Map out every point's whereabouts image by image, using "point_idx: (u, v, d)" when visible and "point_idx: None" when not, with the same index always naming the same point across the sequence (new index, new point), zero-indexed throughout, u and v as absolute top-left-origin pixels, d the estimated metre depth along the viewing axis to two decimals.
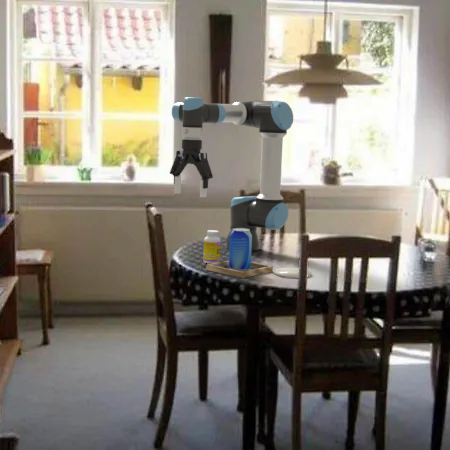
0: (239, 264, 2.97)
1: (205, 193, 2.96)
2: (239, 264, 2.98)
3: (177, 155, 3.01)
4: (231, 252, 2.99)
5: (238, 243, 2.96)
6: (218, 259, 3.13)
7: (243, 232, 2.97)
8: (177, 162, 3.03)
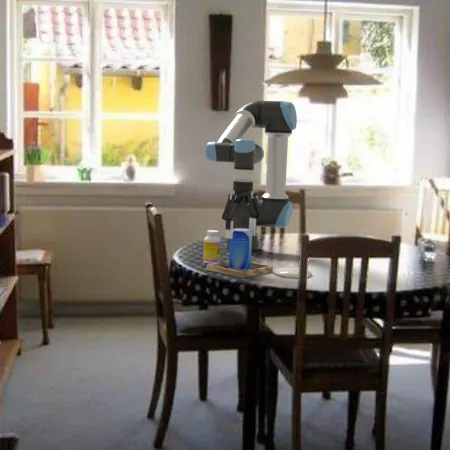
0: (239, 264, 2.97)
1: (230, 235, 2.94)
2: (239, 264, 2.97)
3: None
4: (231, 252, 2.99)
5: (238, 243, 2.96)
6: (218, 259, 3.13)
7: (243, 232, 2.97)
8: (252, 204, 3.04)
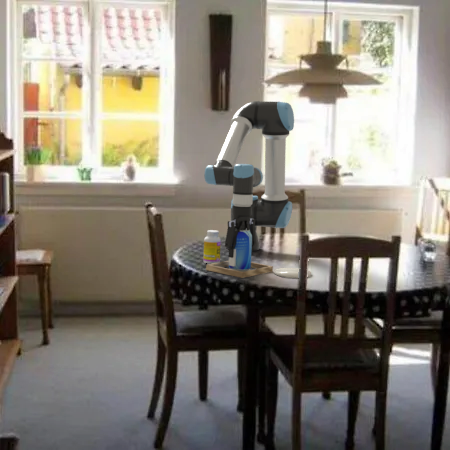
0: (239, 264, 2.98)
1: (233, 262, 2.97)
2: (239, 264, 2.98)
3: None
4: None
5: (238, 243, 2.96)
6: (218, 259, 3.13)
7: (243, 232, 2.97)
8: None
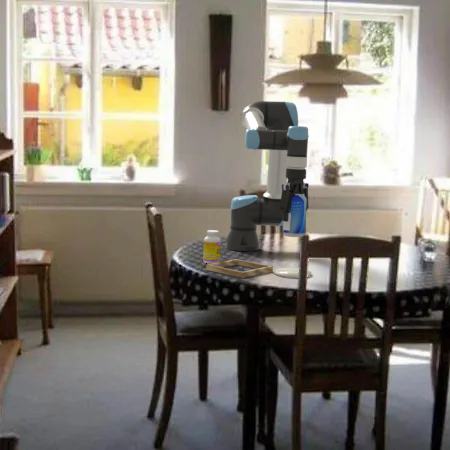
0: (293, 228, 2.93)
1: (287, 226, 2.93)
2: (293, 228, 2.93)
3: None
4: None
5: (293, 207, 2.92)
6: (218, 259, 3.13)
7: (298, 196, 2.92)
8: None
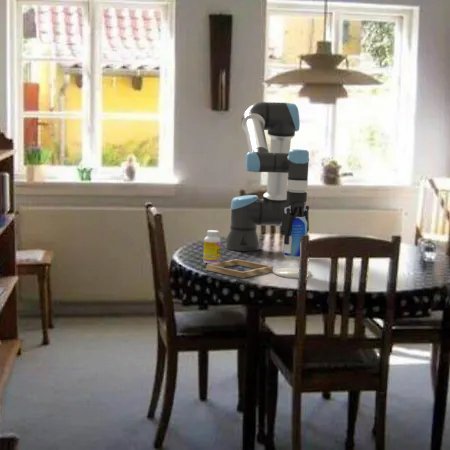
0: (294, 251, 2.94)
1: (288, 249, 2.94)
2: (294, 251, 2.94)
3: None
4: None
5: (294, 230, 2.93)
6: (218, 259, 3.13)
7: (299, 219, 2.93)
8: None
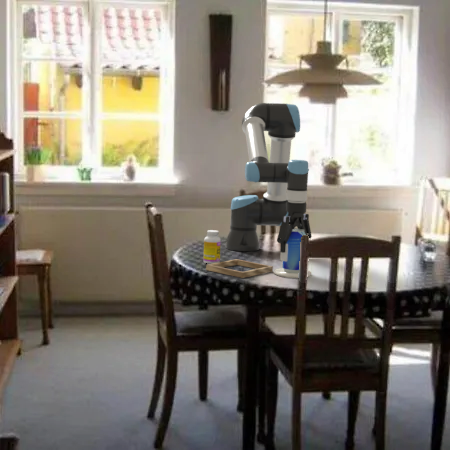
0: (293, 265, 2.95)
1: (284, 257, 2.93)
2: (293, 265, 2.95)
3: None
4: None
5: (292, 243, 2.94)
6: (218, 259, 3.13)
7: (298, 232, 2.94)
8: (304, 225, 3.02)
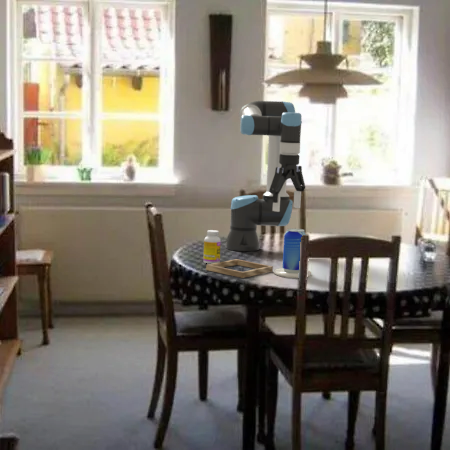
0: (293, 265, 2.95)
1: (277, 208, 2.96)
2: (293, 265, 2.95)
3: None
4: (285, 253, 2.96)
5: (292, 243, 2.94)
6: (218, 259, 3.13)
7: (298, 232, 2.94)
8: (297, 177, 3.05)
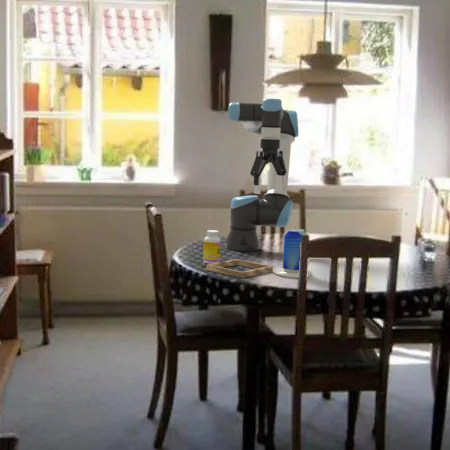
0: (293, 265, 2.95)
1: (258, 190, 3.07)
2: (293, 265, 2.95)
3: None
4: (285, 253, 2.96)
5: (292, 243, 2.94)
6: (218, 259, 3.13)
7: (298, 232, 2.94)
8: (278, 161, 3.16)
